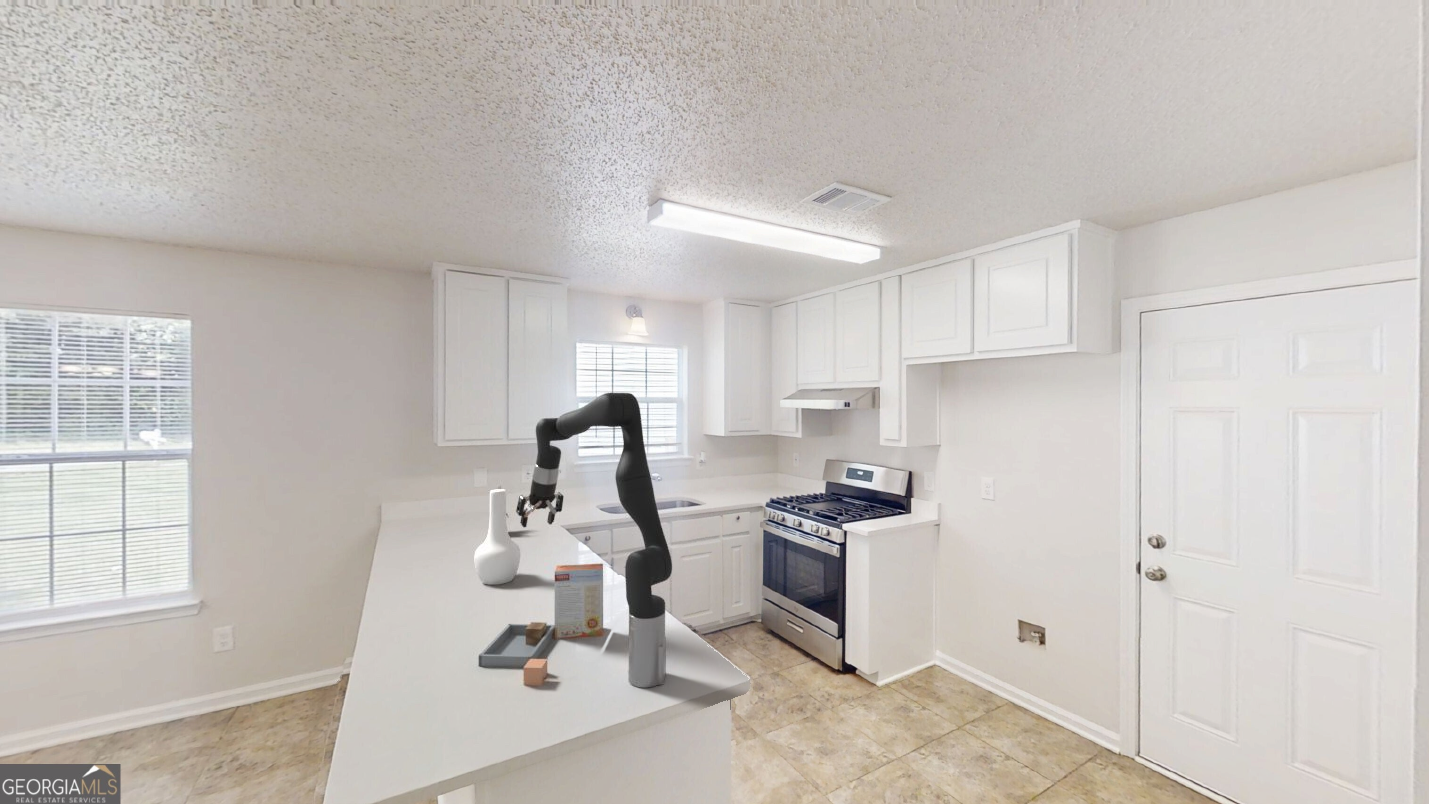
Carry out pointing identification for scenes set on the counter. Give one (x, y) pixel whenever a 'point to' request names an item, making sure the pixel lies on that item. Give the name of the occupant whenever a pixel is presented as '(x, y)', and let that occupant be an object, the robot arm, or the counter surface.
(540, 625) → the walnut cube
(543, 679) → the terracotta cube
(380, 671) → the counter surface
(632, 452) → the robot arm
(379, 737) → the counter surface
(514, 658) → the slate tray
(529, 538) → the counter surface
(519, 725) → the counter surface
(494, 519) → the vase
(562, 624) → the cracker box
